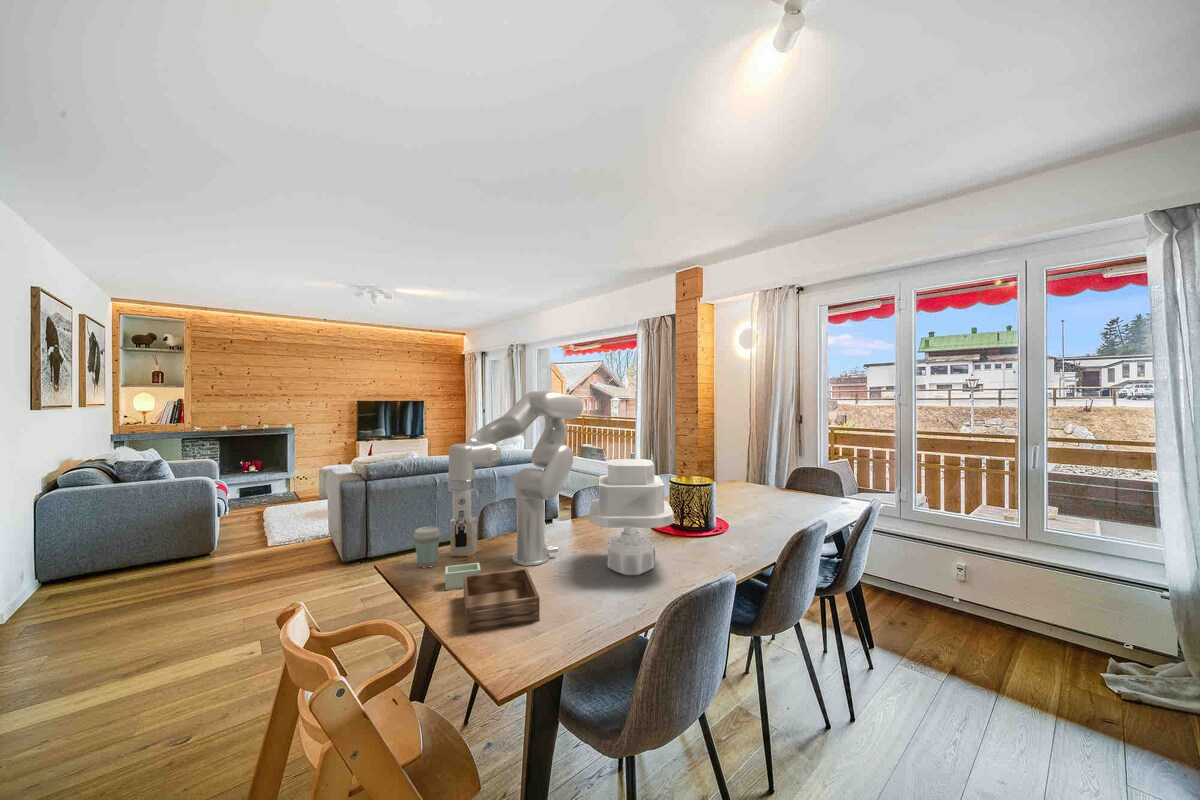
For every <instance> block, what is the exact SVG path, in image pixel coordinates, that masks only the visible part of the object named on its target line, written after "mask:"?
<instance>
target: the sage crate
mask: <svg viewBox="0 0 1200 800" xmlns="http://www.w3.org/2000/svg"><path fill="white" fill-rule="evenodd" d="M444 568H445V573H444V574H445V575H444V579H445V582H444V583H445V590H448V591H454V590H453V589H456V590H461V589H460V588H463V589H464V576H470V575H478V574H481V565H480V562H472V563H465V564H454V565H447V566H445V567H444Z"/></svg>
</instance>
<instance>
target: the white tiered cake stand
mask: <svg viewBox="0 0 1200 800" xmlns="http://www.w3.org/2000/svg"><path fill="white" fill-rule="evenodd" d="M588 515H589V517H588V518H589V519H588V521H589V523H591V524H592V525H594V526H598V527H600V528H608V529H611V528H614V529H616V528H617V529H623V531H621V532H620V535H619V536H616V537H613V538H612V539H610V542H608V543H607V568H609V569H610V570H612V571H614V572H616V573H618V574H622V575H624V576H640V575H641V574H644V573H646V572H649V571H650V570H651V569H654V567H655V563H656V550H655V548H654V546H653V543H651V541H650V539H649V538H648V537H643V536H641V534H640V533H641V532H639V531H638V530H637V529H642V528H643V529H647V528H648V529H652V528H653V529H659V528H664V527H667V526H669V525H672V524H674V523H675V521H674V520H675V513H674V510H673V509H672V507H671V505H670V503H669V501H667V500H665V484H664V482H663V480H662V479H661V477H660V475H656V474H655V464H654V462H653V461H652V459H646V458H615V459H608V460H607V474H603V475H599V477H598V498H596V499H593V500H591V501H590V505H589V514H588Z"/></svg>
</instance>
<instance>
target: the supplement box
mask: <svg viewBox="0 0 1200 800" xmlns="http://www.w3.org/2000/svg"><path fill="white" fill-rule="evenodd" d="M449 525H450V526H449V531H450V535H449V537H450V542H449V543H450V557H451V556H467V557H466V558H473V557H474V556H476V555H477V553H478V538H477V537H478V535H477V534H478V533H477V529H478V527H477V517H473V516H471V524H470V525H469V524H467V523H466V533H467V546H466V547H457V548H456V547H455V525H454V520H453V518H452V519H450V520H449ZM451 547H452V548H451Z"/></svg>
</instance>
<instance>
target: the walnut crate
mask: <svg viewBox="0 0 1200 800" xmlns="http://www.w3.org/2000/svg"><path fill="white" fill-rule="evenodd" d="M463 605H464V621H465V633H471V632H478V631H484V630H491V629H497V628H503V627H509V626H515V625H521V624H528V623H532V622H533V623H535V622H539V621H540V611H541V610H540V595H539V594H538V591H537V588H536V586H535V584H534V581H533V579H532V576H531V575H530V571H529V569H528V568H520V569H513V570H504V571H495V572H487V573H480V574H478V575H470V576H464V588H463Z"/></svg>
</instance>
